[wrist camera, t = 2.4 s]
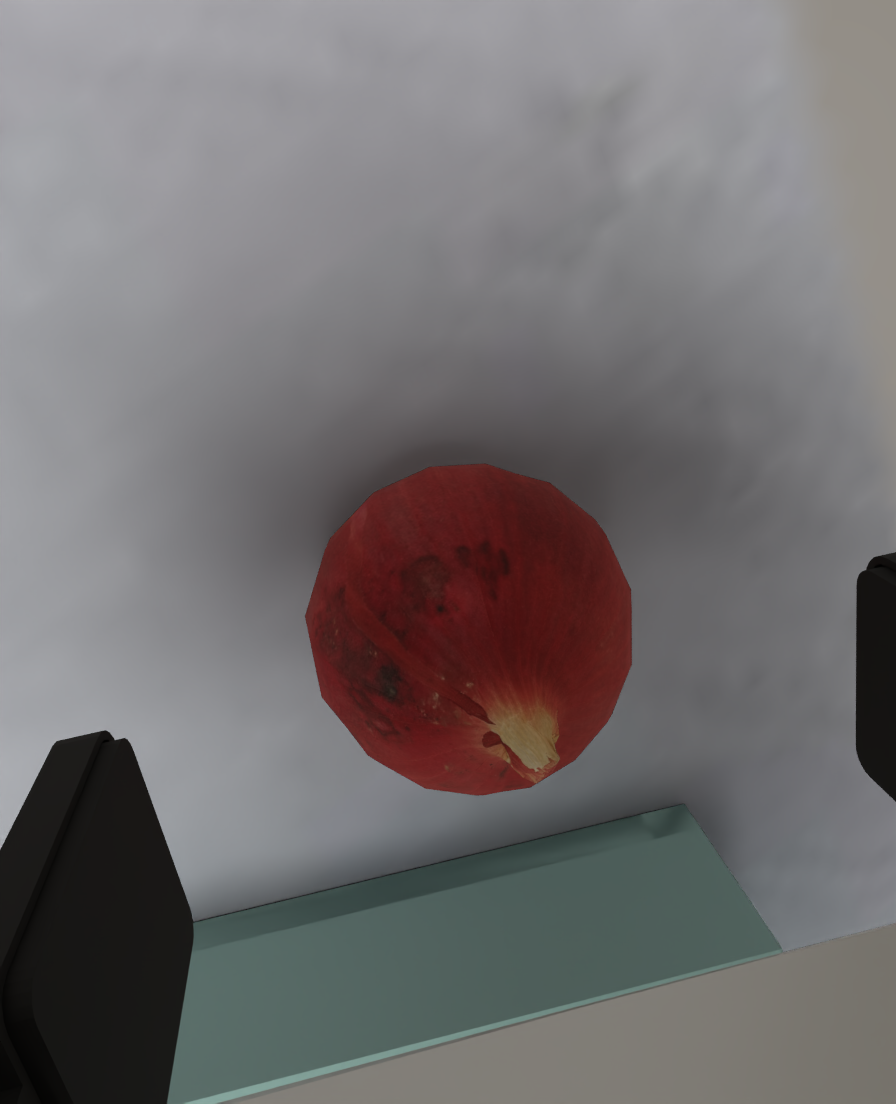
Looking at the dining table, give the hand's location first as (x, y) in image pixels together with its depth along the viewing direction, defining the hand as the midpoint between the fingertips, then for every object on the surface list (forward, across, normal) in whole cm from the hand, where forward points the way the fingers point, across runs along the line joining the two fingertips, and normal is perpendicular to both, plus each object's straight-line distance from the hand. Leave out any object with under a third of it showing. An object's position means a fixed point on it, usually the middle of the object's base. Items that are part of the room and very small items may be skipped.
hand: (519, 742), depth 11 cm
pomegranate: (+9, 0, +1) cm, 9 cm away
